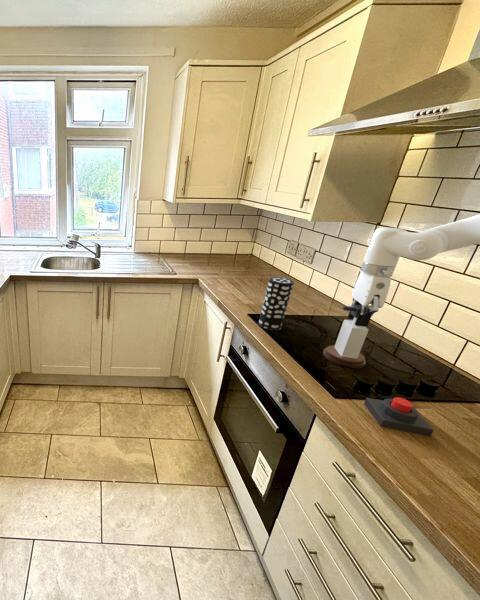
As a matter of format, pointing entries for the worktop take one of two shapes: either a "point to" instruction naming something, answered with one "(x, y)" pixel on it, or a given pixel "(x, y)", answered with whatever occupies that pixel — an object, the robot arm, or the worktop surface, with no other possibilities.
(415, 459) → the worktop surface
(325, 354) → the base
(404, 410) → the button
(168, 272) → the worktop surface
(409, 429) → the grey stepped base
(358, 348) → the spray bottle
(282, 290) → the spotted tube
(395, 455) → the worktop surface
